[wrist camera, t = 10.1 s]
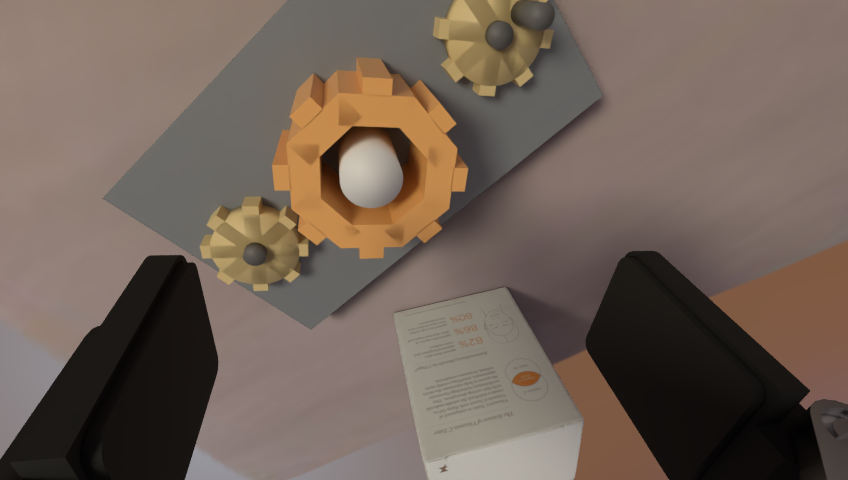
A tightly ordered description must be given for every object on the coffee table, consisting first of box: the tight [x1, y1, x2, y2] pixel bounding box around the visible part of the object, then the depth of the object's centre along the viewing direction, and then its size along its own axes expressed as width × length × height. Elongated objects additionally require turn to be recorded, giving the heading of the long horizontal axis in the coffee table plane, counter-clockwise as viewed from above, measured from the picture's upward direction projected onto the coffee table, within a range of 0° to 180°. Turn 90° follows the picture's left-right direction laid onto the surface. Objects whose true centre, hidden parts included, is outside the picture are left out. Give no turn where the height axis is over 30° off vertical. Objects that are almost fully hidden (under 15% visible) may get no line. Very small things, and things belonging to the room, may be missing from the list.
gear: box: [272, 57, 468, 259], centre depth 18 cm, size 7×7×4 cm
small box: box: [394, 287, 584, 480], centre depth 25 cm, size 8×6×10 cm
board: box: [102, 0, 603, 329], centre depth 18 cm, size 20×12×6 cm, turn 130°
